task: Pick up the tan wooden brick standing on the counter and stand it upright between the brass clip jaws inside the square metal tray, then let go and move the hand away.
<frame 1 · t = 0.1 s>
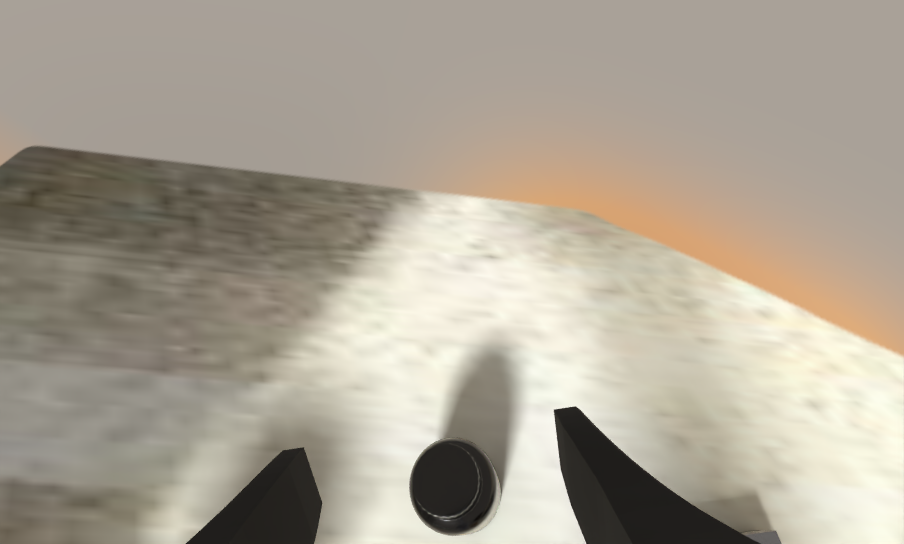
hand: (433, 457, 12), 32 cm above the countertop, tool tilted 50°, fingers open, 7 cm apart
supplement bottle: (463, 491, 41), on the countertop
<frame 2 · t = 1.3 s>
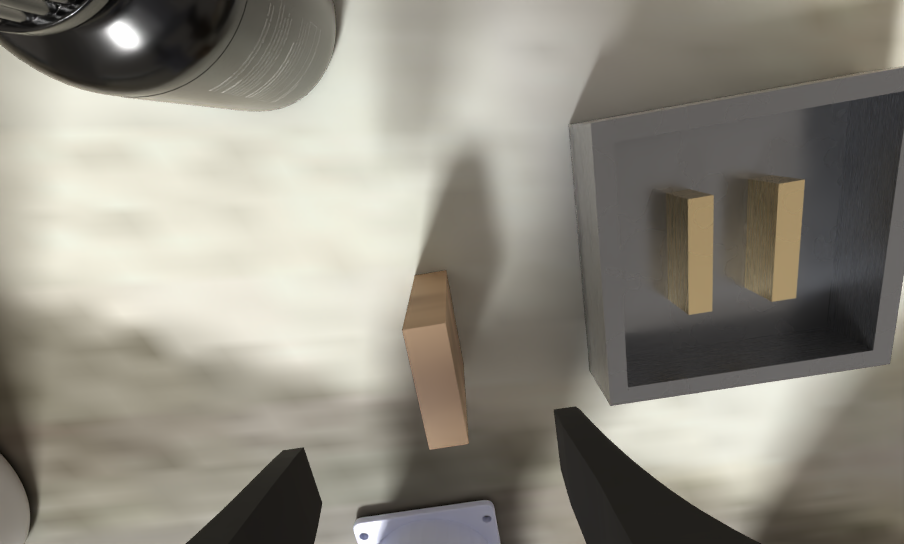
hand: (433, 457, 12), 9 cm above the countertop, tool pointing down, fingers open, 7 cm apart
tan wooden brick: (439, 320, 21), on the countertop
supplement bottle: (254, 22, 17), on the countertop
square metal tray: (710, 237, 20), on the countertop
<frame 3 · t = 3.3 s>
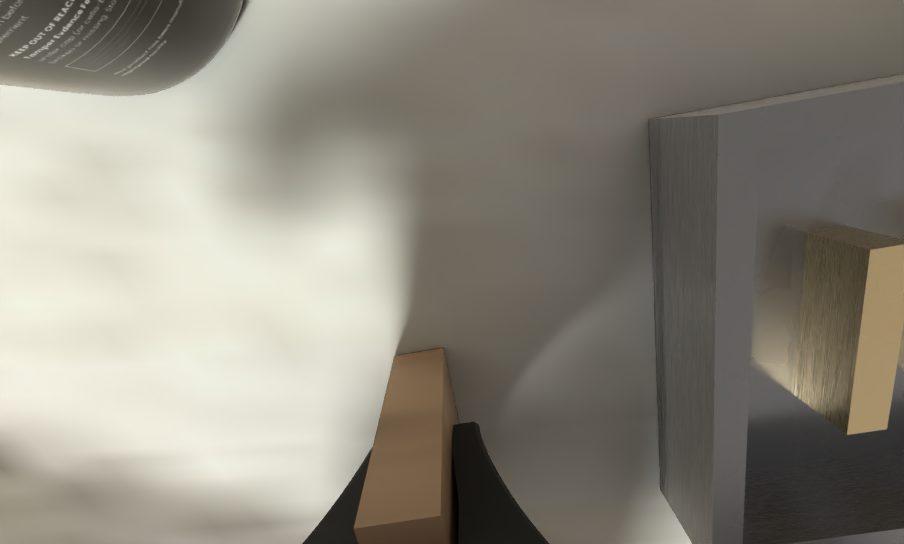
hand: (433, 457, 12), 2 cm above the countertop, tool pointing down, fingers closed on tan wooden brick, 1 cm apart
tan wooden brick: (434, 421, 14), on the countertop, touching gripper
square metal tray: (863, 297, 13), on the countertop
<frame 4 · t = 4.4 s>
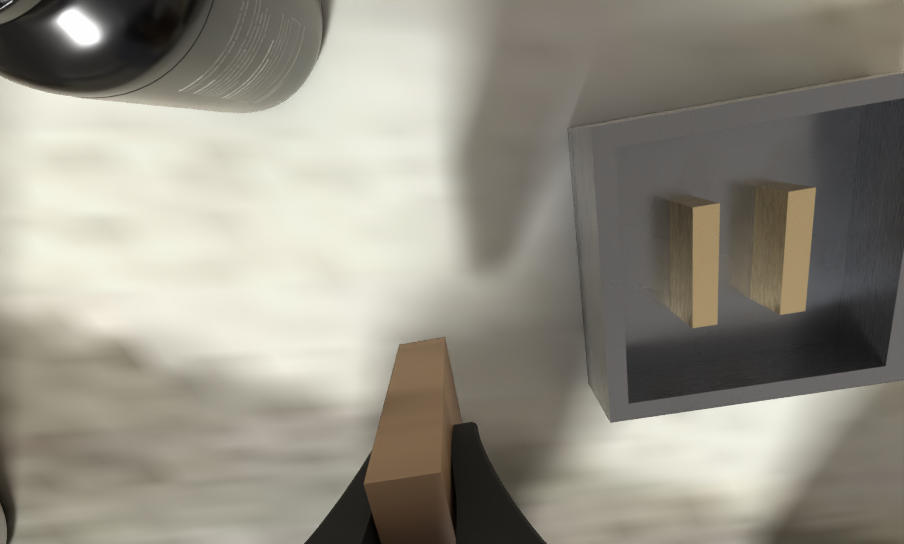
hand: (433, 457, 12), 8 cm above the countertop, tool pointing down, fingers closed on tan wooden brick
tan wooden brick: (436, 407, 15), point 6 cm above the countertop, touching gripper
supplement bottle: (237, 19, 17), on the countertop
square metal tray: (715, 245, 19), on the countertop
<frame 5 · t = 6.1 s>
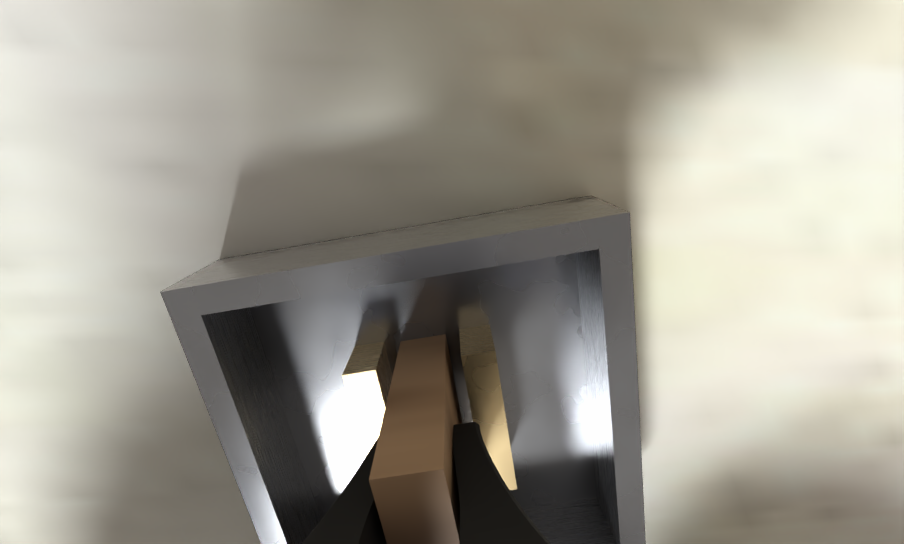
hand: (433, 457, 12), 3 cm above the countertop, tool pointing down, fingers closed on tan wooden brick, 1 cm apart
tan wooden brick: (436, 402, 15), point 1 cm above the countertop, touching square metal tray, gripper
square metal tray: (435, 390, 16), on the countertop
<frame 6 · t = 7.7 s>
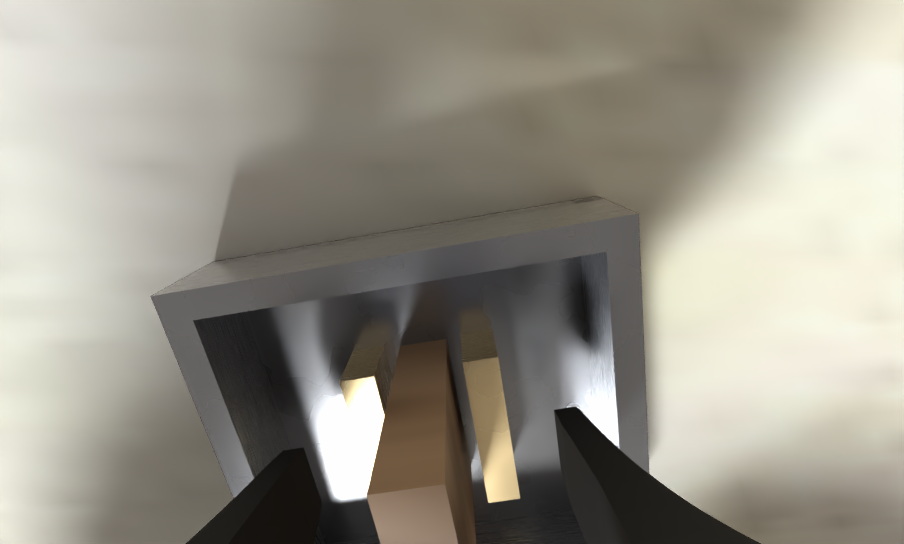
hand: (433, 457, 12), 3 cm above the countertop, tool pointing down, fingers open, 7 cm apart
tan wooden brick: (437, 408, 15), point 1 cm above the countertop, touching square metal tray
square metal tray: (436, 396, 15), on the countertop
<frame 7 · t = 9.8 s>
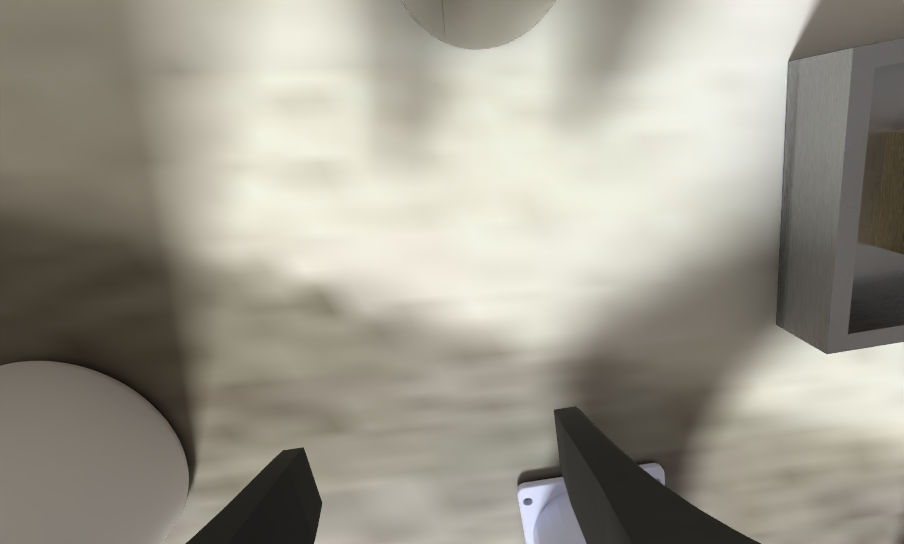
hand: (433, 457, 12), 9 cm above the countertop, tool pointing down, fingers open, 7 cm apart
cylinder vase: (81, 454, 24), on the countertop
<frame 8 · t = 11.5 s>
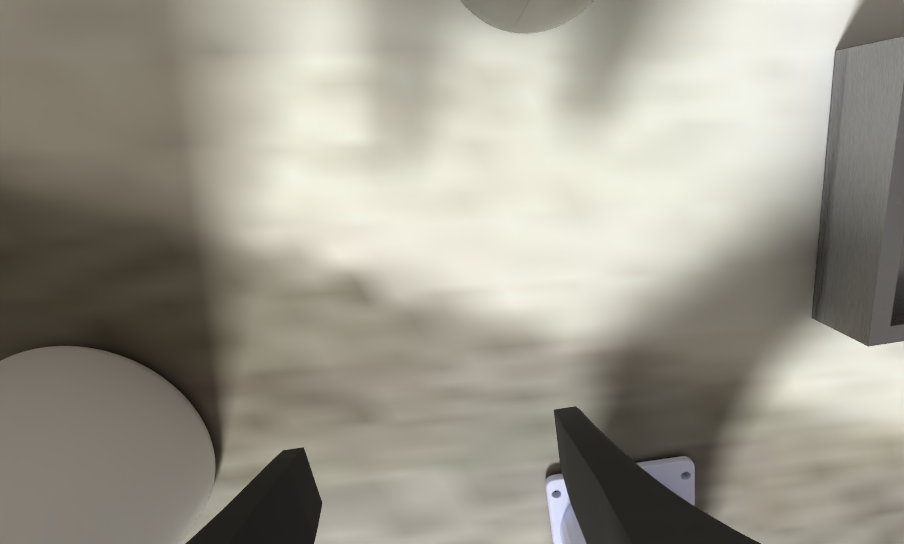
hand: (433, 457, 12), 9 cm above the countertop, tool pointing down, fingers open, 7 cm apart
cylinder vase: (106, 442, 24), on the countertop
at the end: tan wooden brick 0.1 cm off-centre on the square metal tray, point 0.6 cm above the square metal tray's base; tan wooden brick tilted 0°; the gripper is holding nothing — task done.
